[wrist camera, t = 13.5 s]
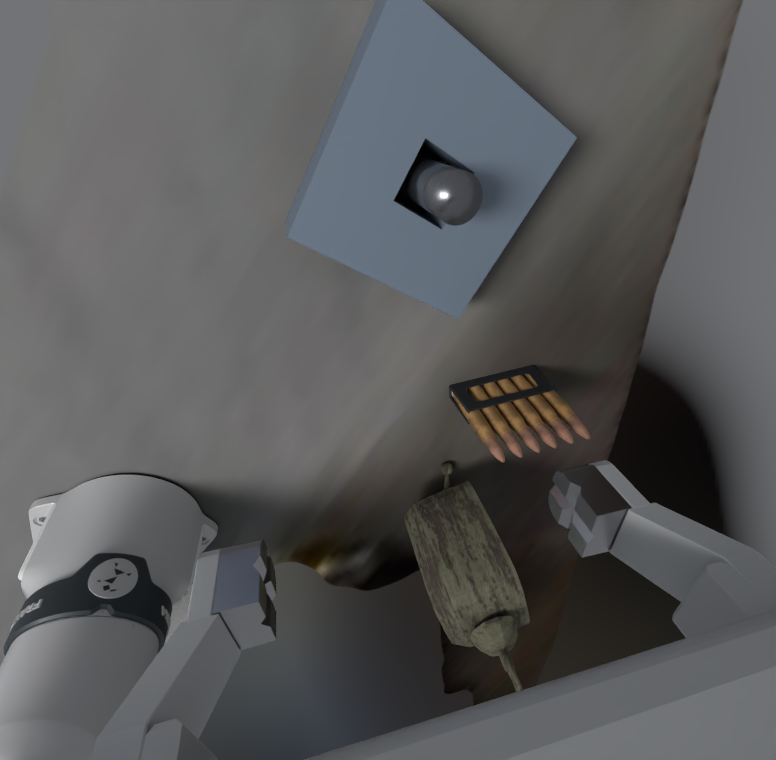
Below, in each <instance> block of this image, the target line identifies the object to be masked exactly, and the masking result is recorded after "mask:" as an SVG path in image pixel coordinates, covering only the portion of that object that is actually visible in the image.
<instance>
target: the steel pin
mask: <svg viewBox="0 0 776 760" xmlns="http://www.w3.org/2000/svg"><path fill="white" fill-rule="evenodd" d="M399 190H400V192H401V193H402V194H403V195H405V196H406V197H408V198H409V199H411V200H412V201H414V202H415V203H417V204H418V205H420V206H421V207H422V208H424V209H425V210H427V211H428V212H430V213H431V214H433V215H434V216H436V217H437V218H439V219H440V220H442V221H443V222H445V223H446V224H449V225H453V226H457V225H462V224H465V223H467V222H468V221H470V220H471V219H472V218H473V217H474V216H475V215H476V213H477V212H478V210H479V208H480V206H481V203H482V197H483V191H482V186H481V184H480V181H479V180H478V178H477V177H476V176H475V175H473V174H472V173H470V172H467V171H464V170H461V169H458V168H455V167H452V166H449V165H446V164H443V163H440V162H437V161H434V160H431V159H428V158H425V157H422V156H419V155H417V156H416V158H415V160H414V162H413V164H412V165H411V167H410V169H409V171H408V173H407V175H406V177H405V179H404V181H403V183H402V185H401V187H400V189H399Z"/></svg>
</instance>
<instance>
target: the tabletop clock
mask: <svg viewBox="0 0 776 760" xmlns="http://www.w3.org/2000/svg"><path fill="white" fill-rule="evenodd" d="M440 470H441V472H442V473H443V474H444V475H445V479H444V490H443V491H441V492H439V493H437V494H434V495H432V496H429V497H427V498H424V499H421V500H419V501H417V502H414V503H413V505H412V506H411V507H410V509H409V510H408V511H407V513H406V514H405V515H404V519H405V523H406V526H407V530H408V533H409V536H410V540H411V543H412V546H413V549H414V552H415V556H416V559H417V562H418V565H419V568H420V571H421V574H422V577H423V580H424V583H425V586H426V589H427V592H428V595H429V598H430V601H431V604H432V606H433V608H434V610H435V613H436V615H437V617H438V619H439V621H440V623H441V625H442V627H443V629H444V631H445V633H446V634H447V636H448V638H449V640H450V641H451V643H452V644H456V645H462V646H467V647H472V646H476V647H477V648H478V649H479V650H480V651H482V652H484V653H486V654H488V655H490V656H498V655H499V657H500V660H501V662H502V664H503V667H504V669H505V670H506V671H507V672H508V674H509V676H510V678H511V680H512V682H513V684H514V687H515V689H516V692H519V691H522V690H523V688H522V686H521V684H520V681H519V679H518V677H517V675H516V673H515V671H514V667H515V665H514V663H513V661H512V659H511V656H510V654H509V652H508V651H510V650H511V649H512V648H513V647H514V646H515V643H516V640H517V637H518V628H519V627H521V626H523V625H526V624H528V623H530V619H529V613H528V608H527V604H526V600H525V596H524V592H523V589H522V586H521V583H520V580H519V577H518V575H517V572H516V570H515V568H514V566H513V564H512V561H511V559H510V557H509V555H508V553H507V551H506V549H505V547H504V545H503V543H502V541H501V539H500V537H499V535H498V533H497V531H496V529H495V527H494V526H493V524H492V522H491V520H490V518H489V516H488V514H487V512H486V510H485V508H484V507H483V505H482V503H481V501H480V499H479V497H478V495H477V494H476V492H475V490H474V488H473V487H472V485H471V483H470V482H469V481H466V482H464V483H461V484H459V485H456V486H454V487H451V488H450V481H449V474H451V473H452V470H453V467H452V465H451V464H449V463H444V464H442V465H441V469H440Z"/></svg>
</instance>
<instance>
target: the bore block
mask: <svg viewBox="0 0 776 760" xmlns="http://www.w3.org/2000/svg"><path fill="white" fill-rule="evenodd" d="M576 139H577V137H576V136H575V135H574V134H573V133H571V132H570V131H569V130H568V129H567V128H566V127H565V126H564V125H562V124H561V123H560V122H559V121H558V120H557V119H556V118H555V117H553V116H552V115H551V114H550V113H549V112H548V111H547V110H546V109H544V108H543V107H542V106H541V105H540V104H539V103H538V102H537V101H535V100H534V99H533V98H532V97H531V96H530V95H529V94H528V93H526V92H525V91H524V90H523V89H522V88H521V87H520V86H518V85H517V84H516V83H515V82H514V81H513V80H512V79H511V78H509V77H508V76H507V75H506V74H505V73H504V72H503V71H502V70H500V69H499V68H498V67H497V66H496V65H495V64H494V63H493V62H491V61H490V60H489V59H488V58H487V57H486V56H485V55H484V54H482V53H481V52H480V51H479V50H478V49H477V48H476V47H475V46H473V45H472V44H471V43H470V42H469V41H468V40H467V39H466V38H464V37H463V36H462V35H461V34H460V33H459V32H458V31H457V30H455V29H454V28H453V27H452V26H451V25H450V24H449V23H447V22H446V21H445V20H444V19H443V18H442V17H441V16H440V15H438V14H437V13H436V12H435V11H434V10H433V9H432V8H431V7H429V6H428V5H427V4H426V3H425V2H424V1H423V0H377V2H376V4H375V6H374V9H373V11H372V14H371V16H370V18H369V21H368V23H367V26H366V28H365V31H364V33H363V35H362V38H361V40H360V43H359V45H358V48H357V50H356V52H355V55H354V57H353V60H352V62H351V65H350V67H349V69H348V72H347V74H346V77H345V79H344V81H343V84H342V86H341V89H340V91H339V94H338V96H337V98H336V101H335V103H334V106H333V108H332V111H331V113H330V115H329V118H328V120H327V123H326V125H325V127H324V130H323V132H322V135H321V137H320V140H319V142H318V144H317V147H316V149H315V152H314V154H313V157H312V159H311V161H310V164H309V166H308V169H307V171H306V174H305V176H304V178H303V181H302V183H301V186H300V188H299V190H298V193H297V195H296V198H295V200H294V203H293V205H292V207H291V210H290V212H289V215H288V217H287V220H286V229H287V237H288V238H290V239H292V240H294V241H296V242H298V243H300V244H302V245H304V246H306V247H309V248H311V249H313V250H315V251H317V252H319V253H321V254H323V255H325V256H327V257H329V258H331V259H334V260H336V261H338V262H340V263H342V264H344V265H346V266H348V267H350V268H352V269H354V270H356V271H359V272H361V273H363V274H365V275H367V276H369V277H371V278H373V279H375V280H377V281H379V282H381V283H384V284H386V285H388V286H390V287H392V288H394V289H396V290H398V291H400V292H402V293H404V294H406V295H409V296H411V297H413V298H415V299H417V300H419V301H421V302H423V303H425V304H427V305H429V306H432V307H434V308H436V309H438V310H440V311H442V312H444V313H446V314H448V315H450V316H452V317H454V318H457V319H458V318H459V317H460V315H461V314H462V312H463V311H464V309H465V308H466V306H467V305H468V303H469V302H470V300H471V299H472V297H473V295H474V294H475V292H476V291H477V289H478V288H479V286H480V285H481V283H482V282H483V280H484V279H485V277H486V276H487V274H488V273H489V271H490V270H491V268H492V267H493V265H494V263H495V262H496V260H497V259H498V257H499V256H500V254H501V253H502V251H503V250H504V248H505V247H506V245H507V244H508V242H509V241H510V239H511V238H512V236H513V235H514V233H515V231H516V230H517V228H518V227H519V225H520V224H521V222H522V221H523V219H524V218H525V216H526V215H527V213H528V212H529V210H530V209H531V207H532V206H533V204H534V203H535V201H536V199H537V198H538V196H539V195H540V193H541V192H542V190H543V189H544V187H545V186H546V184H547V183H548V181H549V180H550V178H551V177H552V175H553V174H554V172H555V171H556V169H557V167H558V166H559V164H560V163H561V161H562V160H563V158H564V157H565V155H566V154H567V152H568V151H569V149H570V148H571V146H572V145H573V143H574V142H575V140H576ZM422 145H423V146H424V147H426V148H427V149H429V150H430V151H431V152H433V153H434V154H436V155H437V156H439V157H440V158H442V159H443V160H444V161H446V162H447V163H449V164H450V166H452V167H455V168H458V169H461V170H464V171H467V172H470V173H472V174H473V175H475V176H476V177H477V178H478V180H479V181H480V184H481V186H482V191H483V197H482V203H481V206H480V208H479V210H478V212H477V213H476V215H475V216H474V217H473V218H472V219H471V220H470V221H468V222H467V223H465V224H462V225H457V226H453V225H449V224H446V223H445V222H443V221H442V220H440V219H439V218H437V217H436V216H434V215H433V214H431V213H430V212H428V211H427V210H426V211H425V213H424V214H423V216H422V215H421V214H419V213H417V212H416V211H414V210H412V209H411V208H409V207H407V206H406V205H404V204H402V203H401V202H399V201H397V200H396V199H395V197H396V195H397V193H398V191H399V189H400V187H401V185H402V183H403V181H404V179H405V177H406V175H407V173H408V171H409V169H410V167H411V165H412V164H413V162H414V160H415V158H416V156H417V154H418V152H419V150H420V148H421V146H422Z"/></svg>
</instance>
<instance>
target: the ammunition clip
mask: <svg viewBox="0 0 776 760" xmlns="http://www.w3.org/2000/svg"><path fill="white" fill-rule="evenodd" d="M449 390H450V399H451V400H452V401H453V403H454V404H455V406H456V407H457V409H458V410H459V411H460V413H461V414H462V416H463V417H464V418H465V420H466V421H467V423H468V424H470V425H471V426H472V428H473V430H474V431H475V433H476V434H477V436H478V437H479V438H480V439H481V440H482V441H483V442H484V444H485V445H486V446H487V448H488V449H489V451H490V452H491V453H492V454H493V455H494V456H495V457H496V458H497V459H498V460H499V461H501V462H503V463H504V462H505V457H504V453H503V450H502V448H501V446H500V444H499V442H498V441H497V439H496V437H495V435H494V434H493V431H494V432H495V433H496V434H497V435H498V436H499V437H500V438H501V440H502V441H503V442H504V443H505V445H506V446H507V447H508V448H509V449H510V450H511V451H512V452H513V453H514V454H515V455H516V456H518V457H520V458H522V457H523V454H522V450H521V447H520V445H519V443H518V441H517V439H516V438H515V437H514V435H513V433H512V432H511V430H510V428H511V429H512V430H513V431H515V432H516V433H517V435H518V436H519V437H520V438H521V439H522V440H523V442H524V443H525V444H526V445H527V446H528V447H529V448H531V449H532V450H533V451H535V452H537V453H540V448H539V445H538V442H537V440H536V439H535V437H534V435H533V434H532V433H531V431H530V429H529V428H528V427H527V425H528V426H529V427H531V428H532V429H533V431H534V432H535V433H536V434H537V435H538V436H539V437H540V438H541V439H542V440H543V441H544V442H545V443H546V444H548V445H549V446H551V447H553V448H557V444H556V441H555V439H554V437H553V435H552V434H551V432H550V431H549V429H548V428H547V427H546V425H545V424H544V422H545V423H546V424H547V425H548V426H549V427H550V428H551V429H553V431H554V432H555V433H556V434H557V435H558V436H560V437H561V438H562V439H563V440H565V441H566V442H568V443H571V444H573V443H574V441H573V438H572V435H571V434H570V432H569V430H568V429H567V427H566V426H565V425H564V424H563V422H562V421H561V420H560V419H562V420H563V421H564V422H565V423H566V424H567V425H568V426H569V427H570V428H571V429H572V430H574V431H575V432H576V433H577V434H579V435H580V436H582V437H584V438H586V439H590V435H589V432H588V431H587V429H586V427H585V426H584V424H583V423H582V422H581V421H580V420H579V418H578V417H577V416H576V415H575V414H574V412H573V411H572V410H571V408H570V406H569V405H568V404H567V403H566V402H565V401H564V400H563V399H562V398H561V397H560V396H559V395H558V394H557V393H556V388H555V387H554V386H553V385H552V384H551V383H550V382H549V381H548V380H547V378H546V377H545V376H544V375H543V374H542V373H541V372H540V371H539V370H538V368H537V367H536V366H535V365H530V366H526V367H522V368H518V369H514V370H510V371H506V372H502V373H497V374H493V375H489V376H485V377H481V378H477V379H473V380H469V381H465V382H460V383H456V384H452V385H450V386H449ZM526 424H527V425H526ZM508 425H509V426H508ZM509 427H510V428H509ZM492 430H493V431H492Z"/></svg>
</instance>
